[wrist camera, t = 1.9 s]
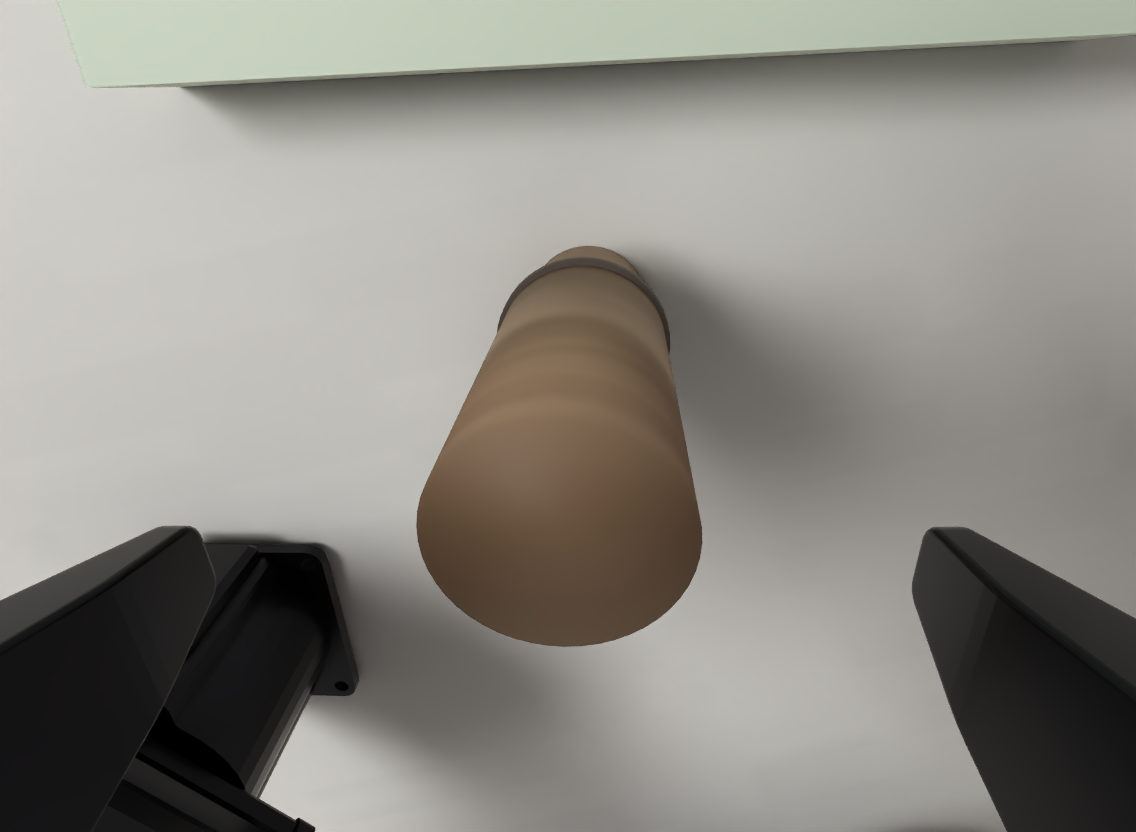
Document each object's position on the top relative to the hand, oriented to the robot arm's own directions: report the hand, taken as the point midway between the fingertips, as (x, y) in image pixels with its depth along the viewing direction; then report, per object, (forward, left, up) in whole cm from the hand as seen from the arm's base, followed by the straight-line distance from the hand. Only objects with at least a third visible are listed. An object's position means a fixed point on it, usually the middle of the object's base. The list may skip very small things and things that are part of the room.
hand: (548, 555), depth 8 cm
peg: (0, 0, -10) cm, 10 cm away
